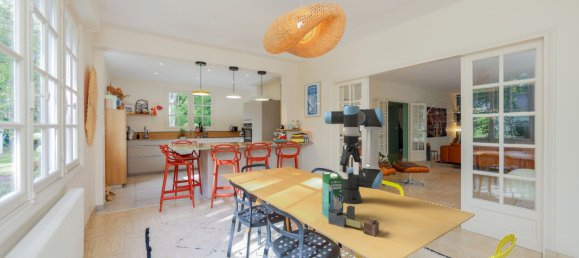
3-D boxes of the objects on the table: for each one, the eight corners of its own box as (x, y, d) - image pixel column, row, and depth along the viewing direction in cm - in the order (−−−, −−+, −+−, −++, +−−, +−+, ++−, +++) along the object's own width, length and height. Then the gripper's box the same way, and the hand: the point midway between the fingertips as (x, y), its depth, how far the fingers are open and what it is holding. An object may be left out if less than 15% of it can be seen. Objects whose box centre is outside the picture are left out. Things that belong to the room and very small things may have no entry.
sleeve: (334, 219, 133) (334, 208, 133) (349, 223, 128) (349, 212, 128) (328, 223, 128) (328, 212, 128) (343, 227, 123) (344, 216, 123)
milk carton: (328, 220, 132) (328, 175, 132) (322, 214, 141) (322, 172, 141) (343, 218, 135) (343, 174, 134) (336, 212, 144) (336, 171, 143)
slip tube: (332, 218, 132) (332, 201, 132) (362, 226, 121) (362, 208, 121) (329, 219, 129) (330, 203, 129) (360, 228, 119) (360, 210, 119)
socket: (368, 229, 121) (368, 217, 121) (378, 231, 118) (378, 219, 118) (363, 233, 116) (364, 220, 116) (374, 236, 113) (374, 223, 113)
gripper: (354, 134, 135) (353, 171, 135) (333, 136, 115) (332, 179, 116) (367, 134, 130) (366, 173, 131) (347, 136, 111) (347, 181, 111)
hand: (350, 176), depth 123 cm, fingers open, 13 cm apart
